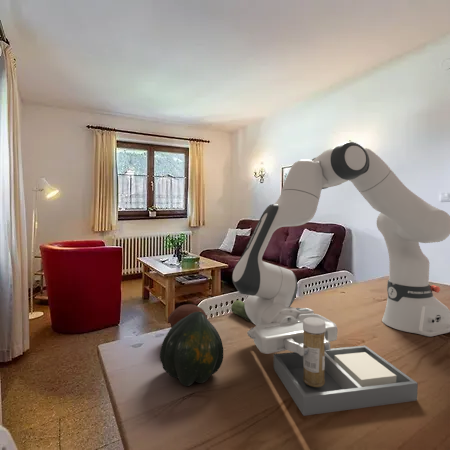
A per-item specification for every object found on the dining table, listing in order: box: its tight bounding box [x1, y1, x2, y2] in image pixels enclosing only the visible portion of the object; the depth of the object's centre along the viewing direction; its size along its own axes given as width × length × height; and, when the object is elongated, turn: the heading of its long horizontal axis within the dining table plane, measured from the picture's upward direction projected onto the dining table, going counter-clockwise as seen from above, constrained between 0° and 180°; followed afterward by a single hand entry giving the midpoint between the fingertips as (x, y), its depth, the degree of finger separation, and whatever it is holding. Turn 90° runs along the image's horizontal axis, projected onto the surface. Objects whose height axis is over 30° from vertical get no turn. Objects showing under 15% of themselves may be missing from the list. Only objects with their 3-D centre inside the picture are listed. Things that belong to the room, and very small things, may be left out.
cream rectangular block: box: [334, 352, 396, 387], centre depth 65 cm, size 8×10×4 cm
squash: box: [159, 311, 224, 387], centre depth 69 cm, size 14×15×15 cm
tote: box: [273, 345, 419, 417], centre depth 64 cm, size 24×16×4 cm, turn 100°
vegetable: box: [230, 299, 253, 323], centre depth 104 cm, size 14×5×5 cm, turn 33°
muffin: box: [167, 304, 208, 329], centre depth 87 cm, size 12×11×10 cm
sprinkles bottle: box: [303, 317, 326, 387], centre depth 63 cm, size 5×5×14 cm
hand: (316, 349), depth 62 cm, fingers closed on sprinkles bottle, 4 cm apart
